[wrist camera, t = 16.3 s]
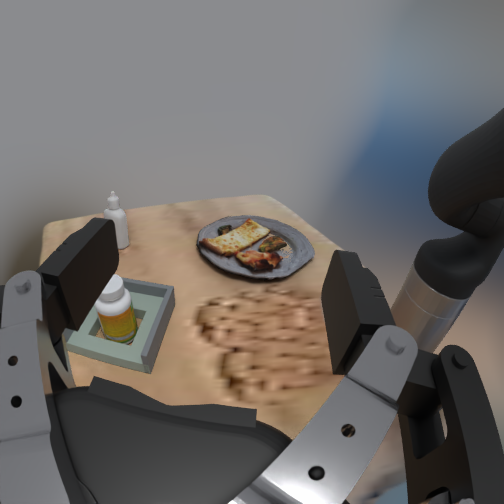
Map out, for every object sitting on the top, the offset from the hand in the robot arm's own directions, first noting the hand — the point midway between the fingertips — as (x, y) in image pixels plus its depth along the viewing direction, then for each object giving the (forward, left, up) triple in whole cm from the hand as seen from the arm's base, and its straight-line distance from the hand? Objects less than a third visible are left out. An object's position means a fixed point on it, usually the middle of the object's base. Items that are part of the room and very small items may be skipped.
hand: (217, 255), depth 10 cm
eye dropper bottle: (+3, -48, -28) cm, 56 cm away
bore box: (+5, -23, -28) cm, 37 cm away
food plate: (-25, -38, -29) cm, 54 cm away
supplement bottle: (+5, -23, -28) cm, 37 cm away
